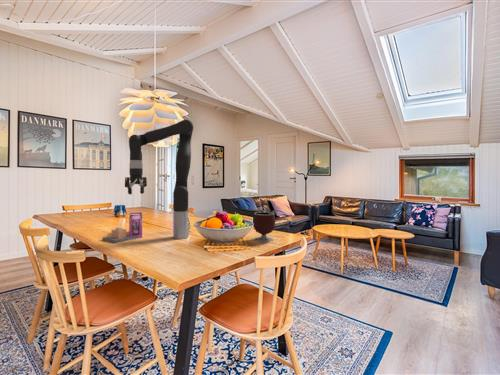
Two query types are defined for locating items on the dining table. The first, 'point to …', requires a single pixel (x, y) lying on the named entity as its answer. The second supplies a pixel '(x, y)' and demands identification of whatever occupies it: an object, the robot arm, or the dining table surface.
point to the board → (116, 240)
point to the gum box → (135, 225)
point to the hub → (118, 233)
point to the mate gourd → (264, 225)
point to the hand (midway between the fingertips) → (136, 193)
